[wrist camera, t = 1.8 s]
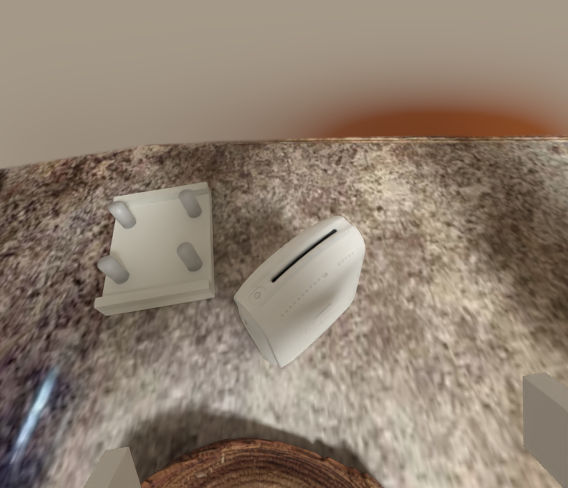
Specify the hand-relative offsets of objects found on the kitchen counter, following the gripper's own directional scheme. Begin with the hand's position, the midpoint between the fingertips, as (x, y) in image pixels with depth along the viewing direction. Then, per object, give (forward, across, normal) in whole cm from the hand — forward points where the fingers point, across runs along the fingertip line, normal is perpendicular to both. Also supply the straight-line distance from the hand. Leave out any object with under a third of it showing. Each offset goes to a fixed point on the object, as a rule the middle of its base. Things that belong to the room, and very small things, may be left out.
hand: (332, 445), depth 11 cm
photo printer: (+20, +1, -5) cm, 20 cm away
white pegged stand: (+27, -13, +3) cm, 30 cm away
